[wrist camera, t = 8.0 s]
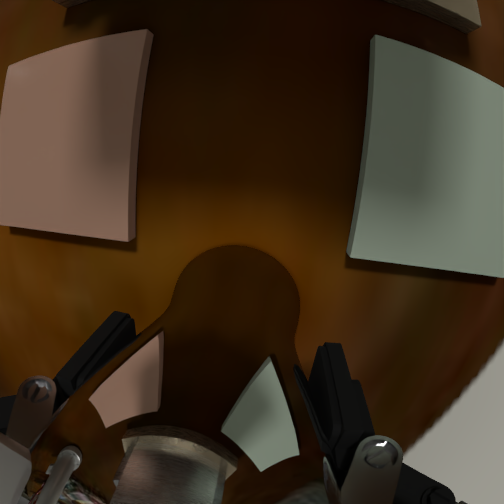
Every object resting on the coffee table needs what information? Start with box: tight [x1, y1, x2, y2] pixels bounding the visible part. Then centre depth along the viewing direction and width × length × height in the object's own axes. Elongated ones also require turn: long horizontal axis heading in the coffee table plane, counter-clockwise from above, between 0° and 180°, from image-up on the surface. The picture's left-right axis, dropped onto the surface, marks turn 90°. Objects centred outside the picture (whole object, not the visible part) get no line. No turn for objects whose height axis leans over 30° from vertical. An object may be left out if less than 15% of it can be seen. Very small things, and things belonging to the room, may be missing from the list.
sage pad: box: [346, 35, 504, 278], centre depth 11 cm, size 10×10×1 cm
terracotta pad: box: [0, 29, 154, 242], centre depth 12 cm, size 10×10×1 cm
